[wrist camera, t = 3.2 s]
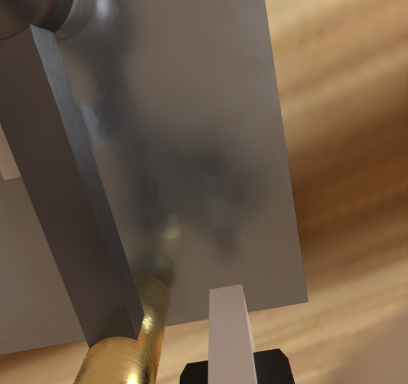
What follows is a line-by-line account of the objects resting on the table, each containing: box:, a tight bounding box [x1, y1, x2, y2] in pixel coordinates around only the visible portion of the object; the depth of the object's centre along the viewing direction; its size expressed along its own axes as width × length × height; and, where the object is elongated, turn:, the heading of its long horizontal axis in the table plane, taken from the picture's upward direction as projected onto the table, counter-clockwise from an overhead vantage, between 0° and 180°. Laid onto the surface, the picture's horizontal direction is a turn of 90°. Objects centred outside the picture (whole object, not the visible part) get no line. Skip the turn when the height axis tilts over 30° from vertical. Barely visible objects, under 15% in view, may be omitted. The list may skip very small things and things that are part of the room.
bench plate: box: [0, 0, 308, 355], centre depth 15 cm, size 24×26×6 cm
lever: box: [0, 0, 170, 384], centre depth 12 cm, size 5×19×7 cm, turn 12°
